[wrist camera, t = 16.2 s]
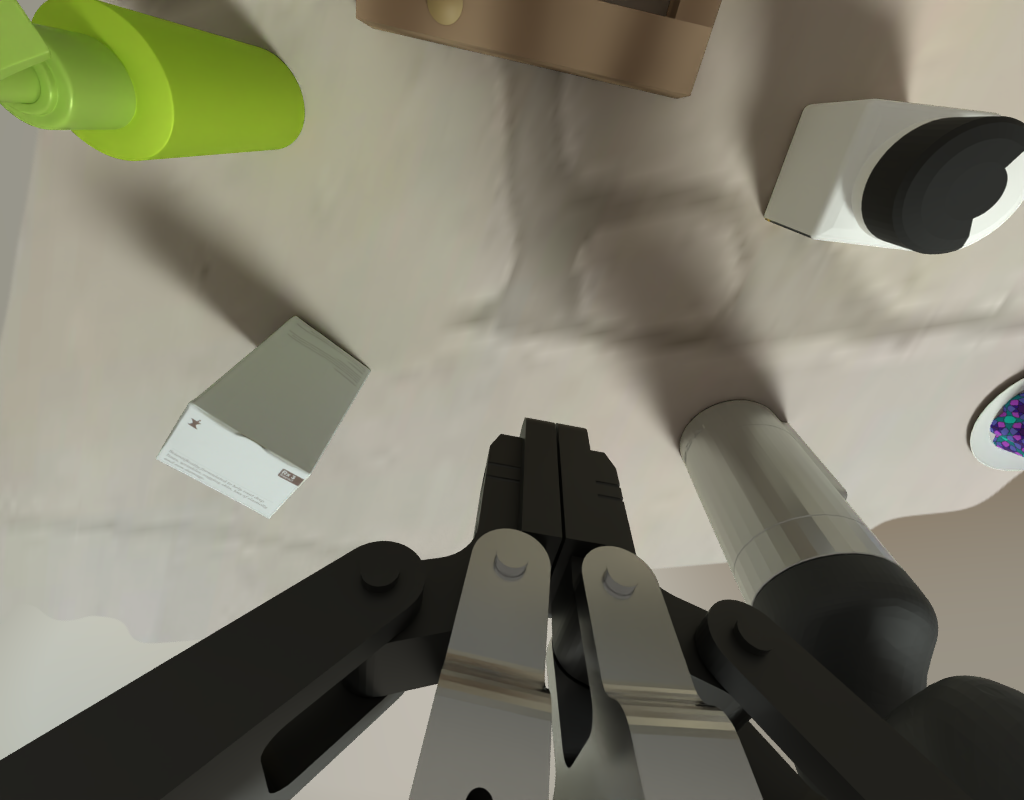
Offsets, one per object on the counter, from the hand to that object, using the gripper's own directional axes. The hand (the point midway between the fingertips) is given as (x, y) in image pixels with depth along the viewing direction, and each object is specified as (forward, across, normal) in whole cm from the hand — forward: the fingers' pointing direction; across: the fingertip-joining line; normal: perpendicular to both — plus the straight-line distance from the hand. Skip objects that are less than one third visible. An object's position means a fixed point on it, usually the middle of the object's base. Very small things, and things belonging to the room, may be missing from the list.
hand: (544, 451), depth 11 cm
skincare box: (+27, +17, +15) cm, 35 cm away
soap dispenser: (+27, +20, -5) cm, 34 cm away
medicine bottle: (+27, -19, -8) cm, 34 cm away
